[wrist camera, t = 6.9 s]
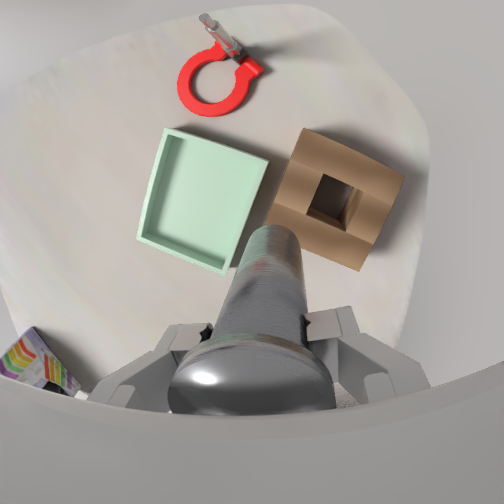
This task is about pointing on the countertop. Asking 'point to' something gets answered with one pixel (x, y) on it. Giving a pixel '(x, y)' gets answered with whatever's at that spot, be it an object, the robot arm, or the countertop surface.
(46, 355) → the cake pan box
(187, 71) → the tow hook
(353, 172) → the block
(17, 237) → the countertop surface
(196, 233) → the tray
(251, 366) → the pin
